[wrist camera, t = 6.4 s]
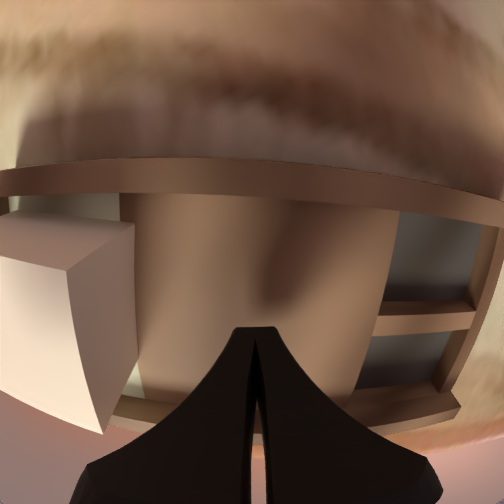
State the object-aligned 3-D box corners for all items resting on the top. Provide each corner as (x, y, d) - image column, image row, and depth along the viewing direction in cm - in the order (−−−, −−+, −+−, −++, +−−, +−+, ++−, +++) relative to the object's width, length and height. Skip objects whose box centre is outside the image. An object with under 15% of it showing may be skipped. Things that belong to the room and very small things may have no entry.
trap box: (495, 199, 11) (535, 212, 8) (434, 387, 15) (453, 418, 12) (14, 168, 10) (-28, 176, 8) (53, 369, 14) (31, 399, 11)
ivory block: (134, 223, 10) (66, 271, 6) (138, 358, 12) (103, 434, 7) (17, 209, 10) (-58, 240, 5) (34, 328, 11) (-15, 380, 7)
